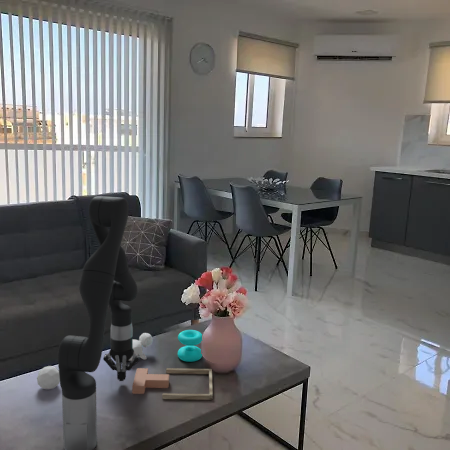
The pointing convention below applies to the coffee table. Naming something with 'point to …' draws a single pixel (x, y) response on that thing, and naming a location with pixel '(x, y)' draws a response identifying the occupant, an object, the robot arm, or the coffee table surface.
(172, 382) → the coffee table surface
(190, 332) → the donuts
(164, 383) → the t piece
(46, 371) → the geometric ball
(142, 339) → the white animal figure
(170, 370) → the frame
